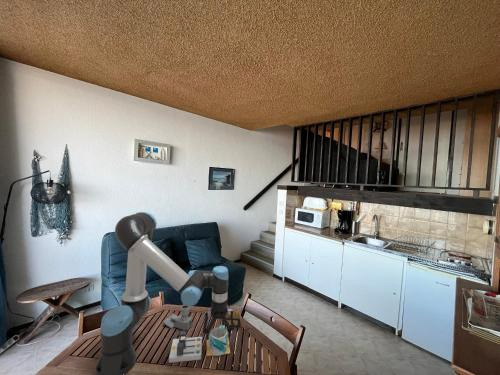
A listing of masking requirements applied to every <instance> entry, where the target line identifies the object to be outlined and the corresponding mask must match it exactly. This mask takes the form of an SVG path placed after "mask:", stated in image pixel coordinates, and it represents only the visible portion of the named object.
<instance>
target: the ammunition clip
mask: <svg viewBox="0 0 500 375" xmlns="http://www.w3.org/2000/svg"><path fill="white" fill-rule="evenodd" d="M227 308H228V309H233V323H234V328H238V327H239V328H241V327H242V321H241V320H242V315H241V314H242V308H241V305H239V307H238V305H236V306H235V305H233V306H232V305H231V304H230V306H229V305H228V304H227ZM225 316H226V319H227V321H228V323H229V326H230V327H231V320H230V315H229V313H227V314H226V315H225ZM221 325H225V323H224V321H223V318H222V319H221ZM225 328H227V327H226V325H225Z"/></svg>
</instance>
